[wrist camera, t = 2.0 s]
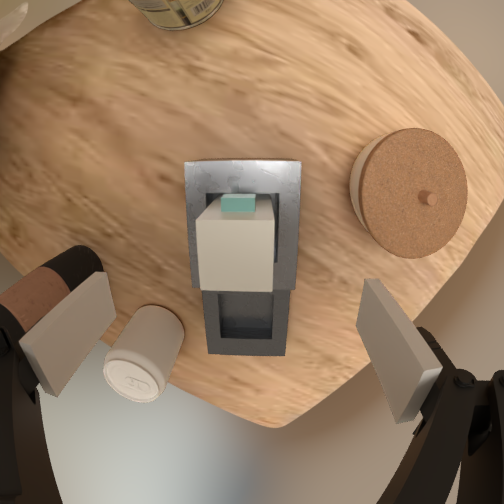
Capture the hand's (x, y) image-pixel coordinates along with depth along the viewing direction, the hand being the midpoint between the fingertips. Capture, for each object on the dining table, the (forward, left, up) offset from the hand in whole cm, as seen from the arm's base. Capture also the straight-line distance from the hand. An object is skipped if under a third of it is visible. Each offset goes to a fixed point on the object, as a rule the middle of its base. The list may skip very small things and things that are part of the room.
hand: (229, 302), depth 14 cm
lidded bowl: (+16, +4, -21) cm, 27 cm away
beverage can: (-13, -17, -21) cm, 30 cm away
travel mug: (-24, -8, -21) cm, 33 cm away
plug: (0, 0, -17) cm, 17 cm away
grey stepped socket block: (0, -6, -21) cm, 21 cm away
